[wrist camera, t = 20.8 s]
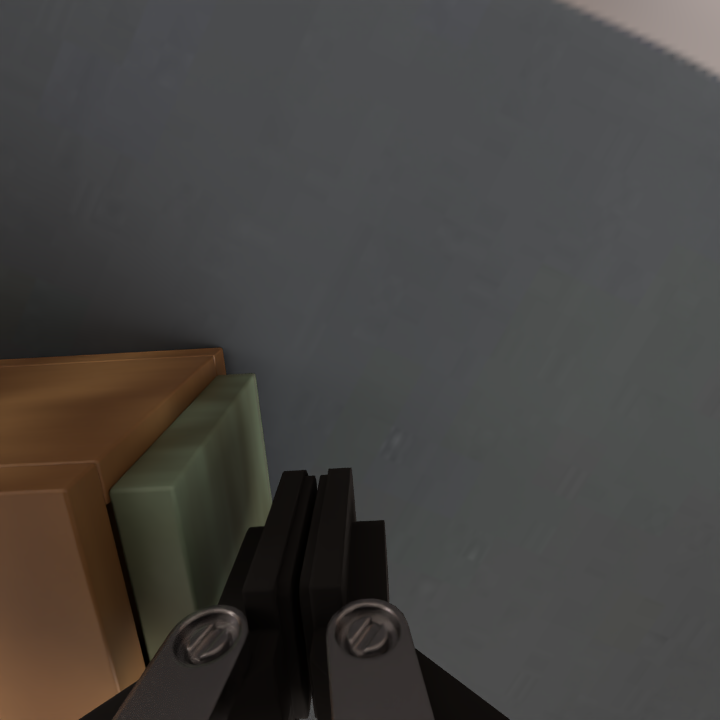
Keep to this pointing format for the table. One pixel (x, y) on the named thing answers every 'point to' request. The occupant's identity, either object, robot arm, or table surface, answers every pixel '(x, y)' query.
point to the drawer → (191, 507)
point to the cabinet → (75, 518)
